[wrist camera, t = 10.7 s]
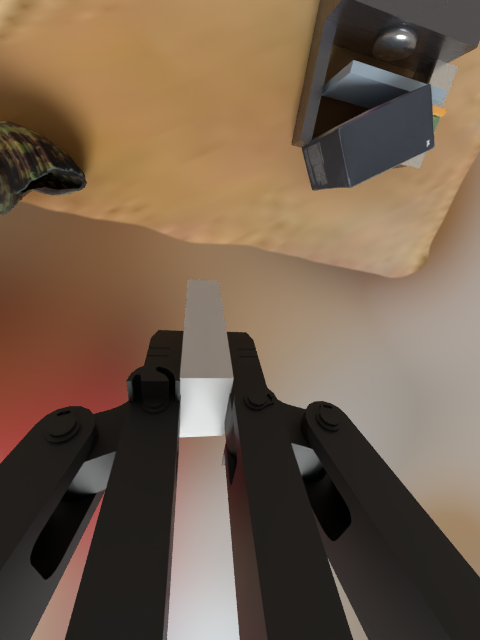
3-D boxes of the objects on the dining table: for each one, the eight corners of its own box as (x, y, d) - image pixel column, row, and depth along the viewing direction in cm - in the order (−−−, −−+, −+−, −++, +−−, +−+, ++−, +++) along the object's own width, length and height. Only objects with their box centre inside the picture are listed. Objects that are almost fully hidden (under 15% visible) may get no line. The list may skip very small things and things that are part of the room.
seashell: (60, 240, 35) (16, 255, 26) (-38, 178, 31) (-131, 170, 22) (100, 174, 33) (67, 165, 24) (0, 95, 28) (-87, 48, 19)
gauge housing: (330, -50, 28) (370, -122, 22) (460, 6, 32) (526, -41, 26) (291, 145, 35) (313, 133, 29) (401, 170, 39) (442, 165, 33)
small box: (369, 109, 35) (435, 77, 26) (376, 160, 38) (437, 149, 29) (299, 143, 35) (339, 124, 26) (311, 192, 38) (351, 190, 29)
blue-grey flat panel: (323, 85, 32) (353, 59, 26) (425, 115, 35) (472, 99, 30) (321, 95, 32) (350, 72, 27) (422, 124, 36) (468, 109, 30)
